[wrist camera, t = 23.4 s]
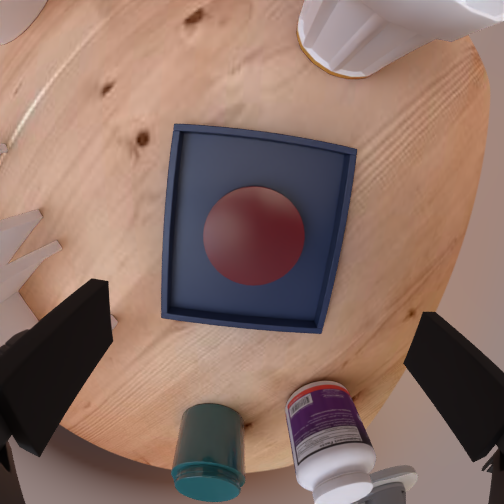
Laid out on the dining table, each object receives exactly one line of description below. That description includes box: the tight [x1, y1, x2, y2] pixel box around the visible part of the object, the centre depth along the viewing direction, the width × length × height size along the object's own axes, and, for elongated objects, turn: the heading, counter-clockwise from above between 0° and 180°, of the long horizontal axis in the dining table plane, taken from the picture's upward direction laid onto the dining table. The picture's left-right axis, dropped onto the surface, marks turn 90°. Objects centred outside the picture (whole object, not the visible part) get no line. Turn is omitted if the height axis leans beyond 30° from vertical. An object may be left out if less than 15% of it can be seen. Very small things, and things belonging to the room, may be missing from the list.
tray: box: [161, 124, 357, 334], centre depth 25 cm, size 17×15×2 cm
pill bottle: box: [285, 381, 376, 504], centre depth 25 cm, size 8×8×14 cm
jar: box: [171, 404, 245, 502], centre depth 27 cm, size 8×8×11 cm
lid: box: [203, 185, 305, 286], centre depth 25 cm, size 8×8×2 cm
